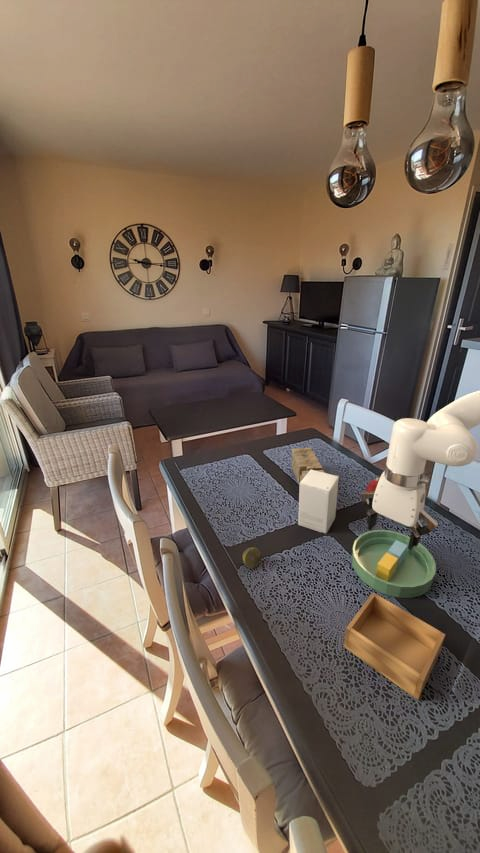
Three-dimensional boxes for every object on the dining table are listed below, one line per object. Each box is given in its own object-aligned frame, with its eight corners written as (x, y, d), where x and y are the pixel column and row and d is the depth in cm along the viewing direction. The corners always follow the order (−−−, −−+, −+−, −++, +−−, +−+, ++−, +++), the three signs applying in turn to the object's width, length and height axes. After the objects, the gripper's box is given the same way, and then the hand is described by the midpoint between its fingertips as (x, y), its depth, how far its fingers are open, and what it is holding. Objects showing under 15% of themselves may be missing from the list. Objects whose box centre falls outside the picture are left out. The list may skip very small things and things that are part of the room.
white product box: (336, 517, 110) (340, 475, 104) (326, 535, 103) (330, 491, 97) (308, 508, 115) (310, 468, 109) (297, 525, 108) (298, 482, 102)
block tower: (333, 514, 113) (311, 464, 139) (335, 492, 110) (312, 445, 136) (308, 515, 113) (290, 466, 139) (310, 493, 109) (291, 446, 135)
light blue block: (405, 557, 94) (407, 545, 92) (397, 568, 91) (400, 555, 89) (394, 551, 96) (396, 539, 94) (386, 562, 93) (388, 550, 91)
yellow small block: (396, 570, 90) (398, 558, 89) (387, 582, 87) (389, 569, 85) (384, 564, 92) (386, 552, 90) (375, 575, 89) (377, 563, 87)
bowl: (443, 565, 92) (447, 553, 90) (415, 615, 79) (418, 602, 78) (371, 531, 104) (373, 520, 102) (337, 569, 92) (338, 557, 90)
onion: (383, 506, 115) (387, 484, 112) (364, 503, 117) (367, 482, 113) (383, 495, 120) (386, 475, 117) (365, 493, 122) (368, 472, 118)
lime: (262, 560, 95) (262, 545, 93) (256, 573, 91) (256, 558, 89) (246, 555, 97) (246, 541, 95) (240, 568, 93) (239, 553, 91)
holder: (439, 653, 71) (445, 634, 69) (418, 700, 64) (423, 681, 62) (369, 610, 81) (372, 591, 78) (343, 646, 73) (346, 627, 71)
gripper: (452, 482, 75) (435, 545, 82) (373, 455, 86) (364, 513, 93) (440, 497, 70) (423, 564, 77) (358, 467, 81) (349, 527, 88)
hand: (391, 536), depth 85 cm, fingers open, 9 cm apart
